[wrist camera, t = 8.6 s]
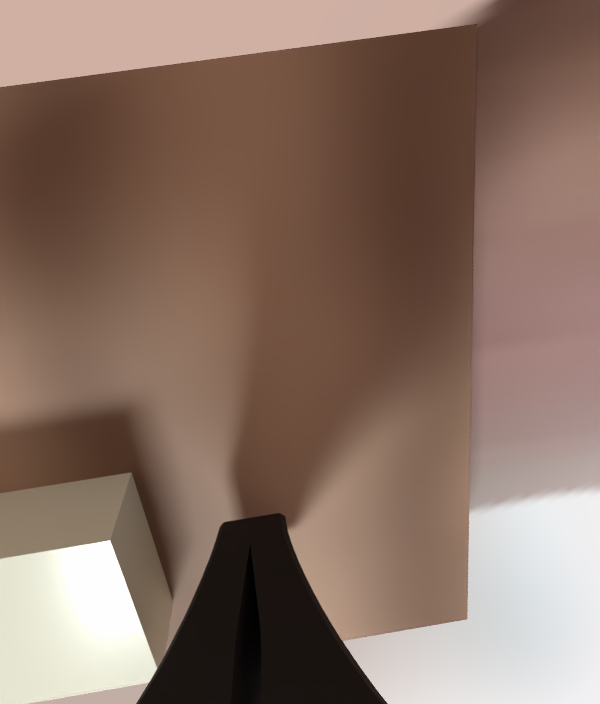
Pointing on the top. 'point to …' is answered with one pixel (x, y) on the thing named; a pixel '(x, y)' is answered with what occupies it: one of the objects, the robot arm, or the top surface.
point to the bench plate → (255, 308)
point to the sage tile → (78, 591)
